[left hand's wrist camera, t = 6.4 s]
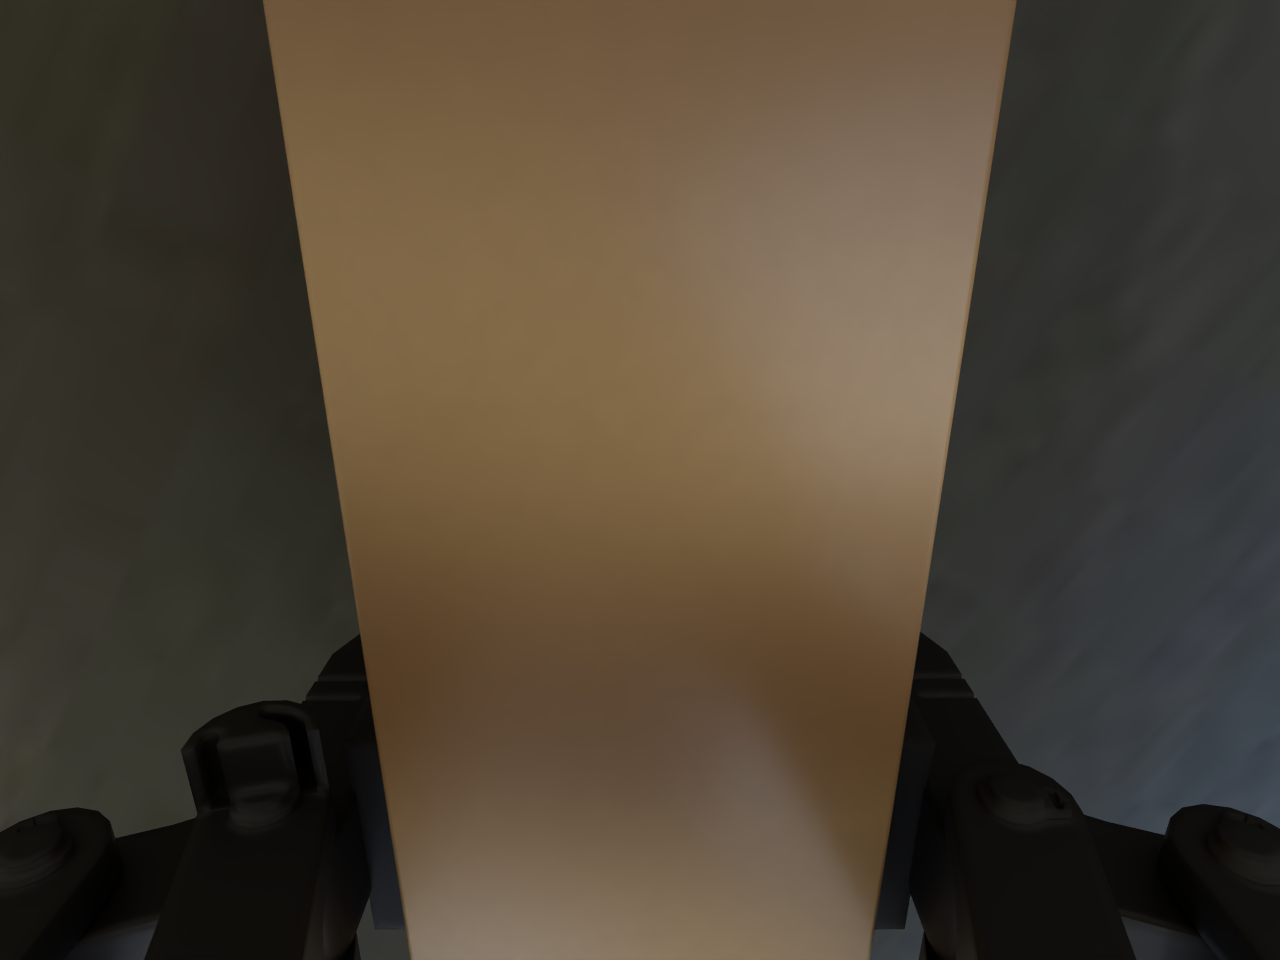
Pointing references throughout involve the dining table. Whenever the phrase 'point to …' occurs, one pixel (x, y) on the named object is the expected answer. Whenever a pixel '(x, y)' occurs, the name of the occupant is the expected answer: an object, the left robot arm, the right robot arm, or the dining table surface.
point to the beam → (639, 441)
